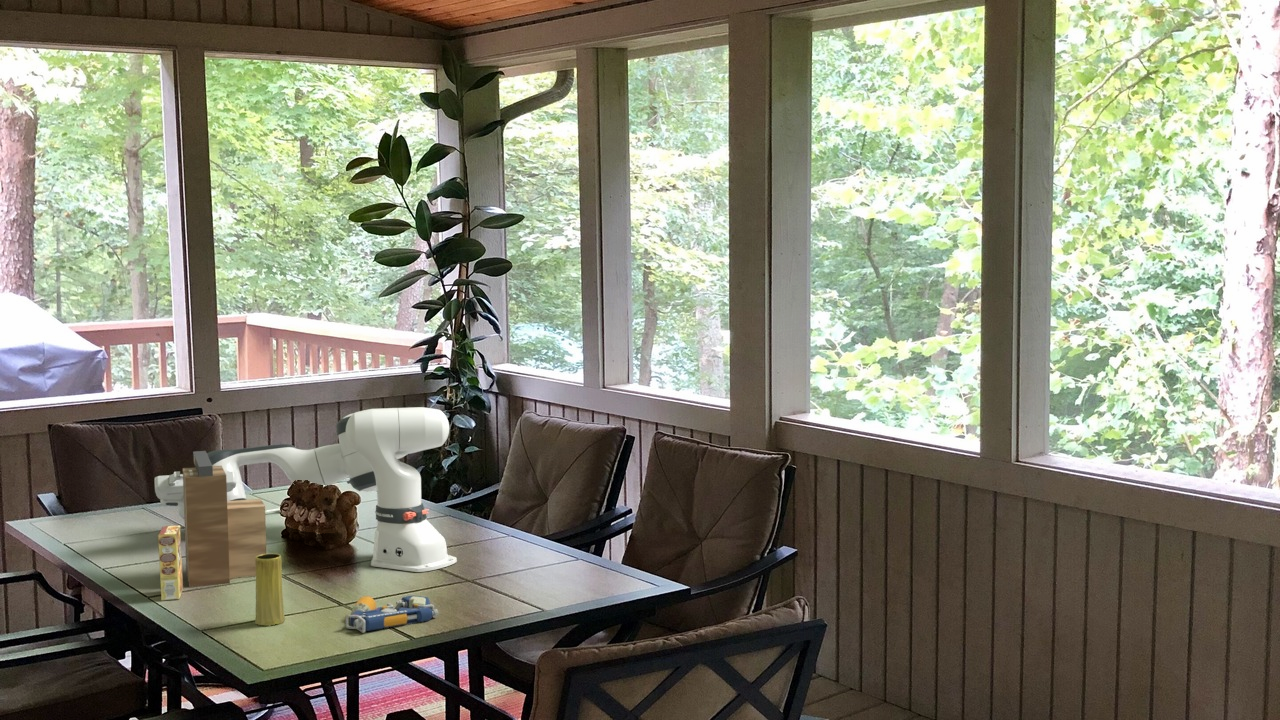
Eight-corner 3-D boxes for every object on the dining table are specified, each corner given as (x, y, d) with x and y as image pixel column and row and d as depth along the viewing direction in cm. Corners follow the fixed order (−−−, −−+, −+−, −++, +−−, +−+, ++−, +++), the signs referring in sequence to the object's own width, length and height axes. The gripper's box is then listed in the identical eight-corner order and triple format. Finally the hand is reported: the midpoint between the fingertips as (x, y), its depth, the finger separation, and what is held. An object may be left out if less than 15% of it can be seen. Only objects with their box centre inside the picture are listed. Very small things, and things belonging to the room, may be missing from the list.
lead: (193, 461, 307) (192, 451, 306) (206, 460, 308) (205, 450, 308) (199, 476, 285) (198, 466, 284) (212, 475, 286) (212, 465, 286)
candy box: (180, 599, 275) (177, 533, 274) (160, 601, 274) (157, 534, 273) (183, 589, 284) (181, 524, 283) (164, 590, 283) (161, 526, 281)
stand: (186, 572, 299) (182, 467, 296) (262, 565, 306) (259, 461, 303) (189, 587, 286) (185, 476, 283) (269, 578, 293) (265, 471, 291)
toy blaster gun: (327, 619, 261) (355, 638, 249) (328, 600, 261) (355, 618, 249) (416, 605, 273) (447, 622, 261) (417, 586, 273) (447, 603, 261)
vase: (288, 617, 262) (286, 552, 260) (280, 626, 256) (278, 559, 254) (259, 617, 261) (257, 552, 260) (251, 626, 255) (249, 559, 254)
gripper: (236, 499, 328) (239, 481, 317) (154, 505, 320) (155, 487, 309) (234, 477, 331) (237, 458, 319) (153, 483, 323) (154, 464, 311)
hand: (196, 472), depth 314 cm, fingers open, 8 cm apart
